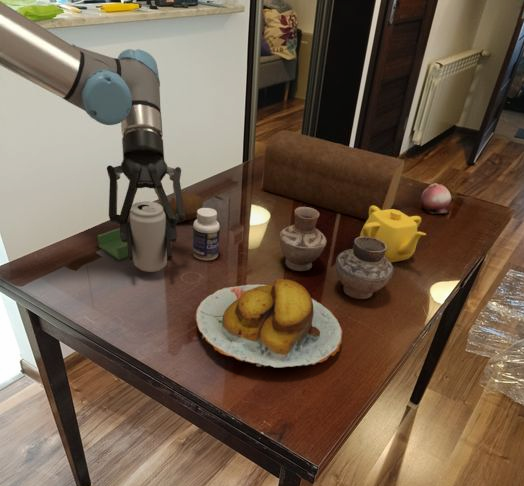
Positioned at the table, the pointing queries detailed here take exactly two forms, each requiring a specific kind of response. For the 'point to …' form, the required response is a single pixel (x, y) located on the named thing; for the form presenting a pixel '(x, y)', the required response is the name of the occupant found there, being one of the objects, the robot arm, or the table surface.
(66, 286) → the table surface
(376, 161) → the bread
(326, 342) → the food on plate
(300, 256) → the pottery
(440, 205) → the pink peach
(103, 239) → the scoop
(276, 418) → the table surface
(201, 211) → the pill bottle
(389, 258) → the teapot
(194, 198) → the potato
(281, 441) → the table surface
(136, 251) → the beverage can
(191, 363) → the table surface
